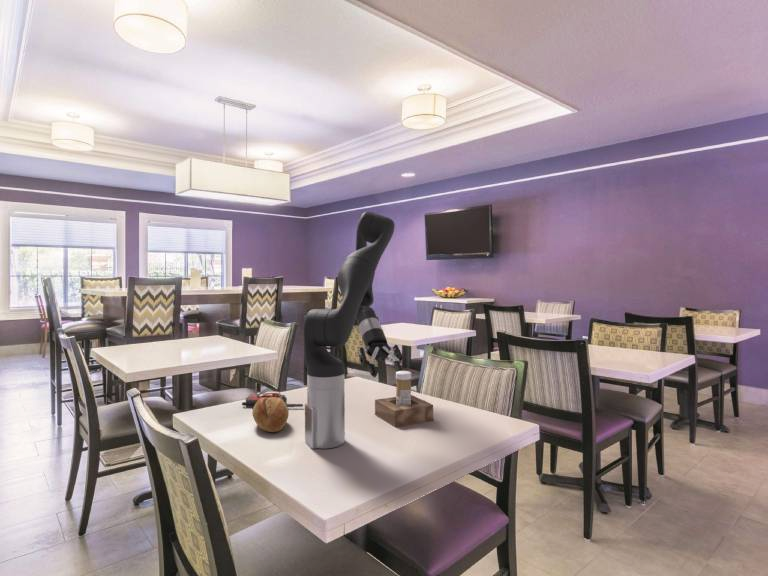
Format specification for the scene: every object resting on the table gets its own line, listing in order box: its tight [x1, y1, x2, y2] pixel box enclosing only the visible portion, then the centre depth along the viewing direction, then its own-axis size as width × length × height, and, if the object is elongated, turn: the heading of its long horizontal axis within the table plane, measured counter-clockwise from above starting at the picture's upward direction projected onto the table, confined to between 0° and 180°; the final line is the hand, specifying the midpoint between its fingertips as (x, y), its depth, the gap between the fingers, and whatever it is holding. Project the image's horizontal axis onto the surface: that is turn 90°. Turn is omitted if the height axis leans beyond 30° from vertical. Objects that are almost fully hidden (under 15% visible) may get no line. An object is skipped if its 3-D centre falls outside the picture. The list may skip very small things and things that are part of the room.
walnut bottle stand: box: [374, 394, 434, 428], centre depth 131 cm, size 13×13×4 cm
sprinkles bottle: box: [395, 370, 412, 407], centre depth 131 cm, size 5×5×14 cm
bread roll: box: [252, 397, 290, 433], centre depth 123 cm, size 10×15×8 cm, turn 20°
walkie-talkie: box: [241, 391, 304, 408], centre depth 144 cm, size 9×4×20 cm
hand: (387, 374), depth 140 cm, fingers open, 8 cm apart
